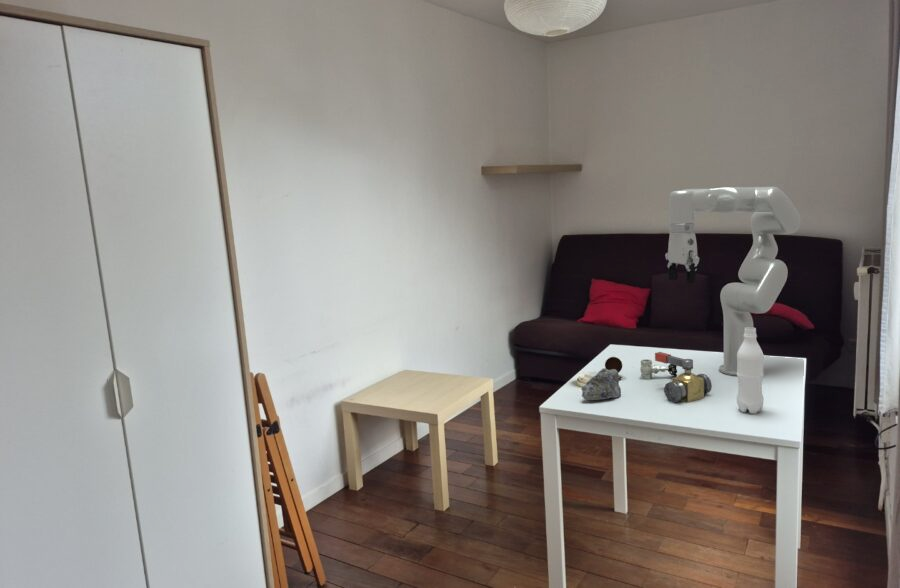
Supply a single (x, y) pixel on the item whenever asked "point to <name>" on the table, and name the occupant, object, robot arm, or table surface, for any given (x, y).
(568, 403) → the table surface
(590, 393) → the mineral rock
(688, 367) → the valve lever
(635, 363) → the table surface
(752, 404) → the water bottle
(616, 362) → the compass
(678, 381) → the pipe valve
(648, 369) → the valve
